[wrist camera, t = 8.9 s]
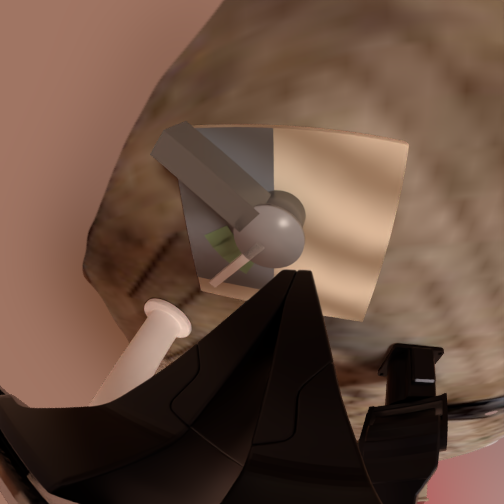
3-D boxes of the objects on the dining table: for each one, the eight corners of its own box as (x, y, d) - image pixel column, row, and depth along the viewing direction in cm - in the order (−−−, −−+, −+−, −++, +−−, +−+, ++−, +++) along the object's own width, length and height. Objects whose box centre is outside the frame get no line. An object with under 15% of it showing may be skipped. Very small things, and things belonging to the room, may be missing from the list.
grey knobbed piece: (324, 217, 18) (319, 245, 16) (247, 275, 24) (233, 302, 21) (200, 105, 16) (172, 114, 13) (148, 189, 21) (123, 208, 19)
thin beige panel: (362, 313, 24) (362, 322, 23) (205, 284, 28) (200, 291, 27) (405, 141, 14) (409, 145, 13) (178, 126, 19) (170, 130, 18)
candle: (196, 339, 36) (112, 494, 17) (155, 325, 38) (70, 462, 19) (185, 305, 32) (78, 486, 13) (140, 292, 34) (34, 445, 15)
